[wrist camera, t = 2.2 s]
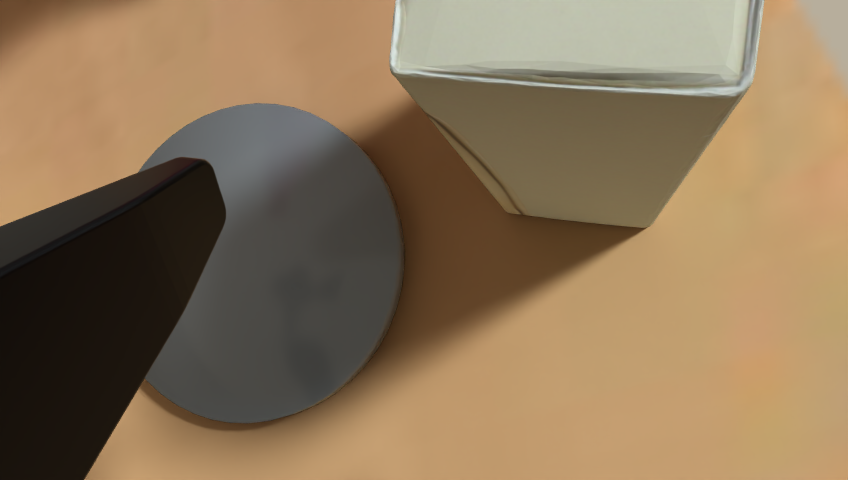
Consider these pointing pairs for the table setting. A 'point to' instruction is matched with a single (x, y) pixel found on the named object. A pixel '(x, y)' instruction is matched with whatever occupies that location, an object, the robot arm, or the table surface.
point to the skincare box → (578, 94)
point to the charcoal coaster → (282, 267)
